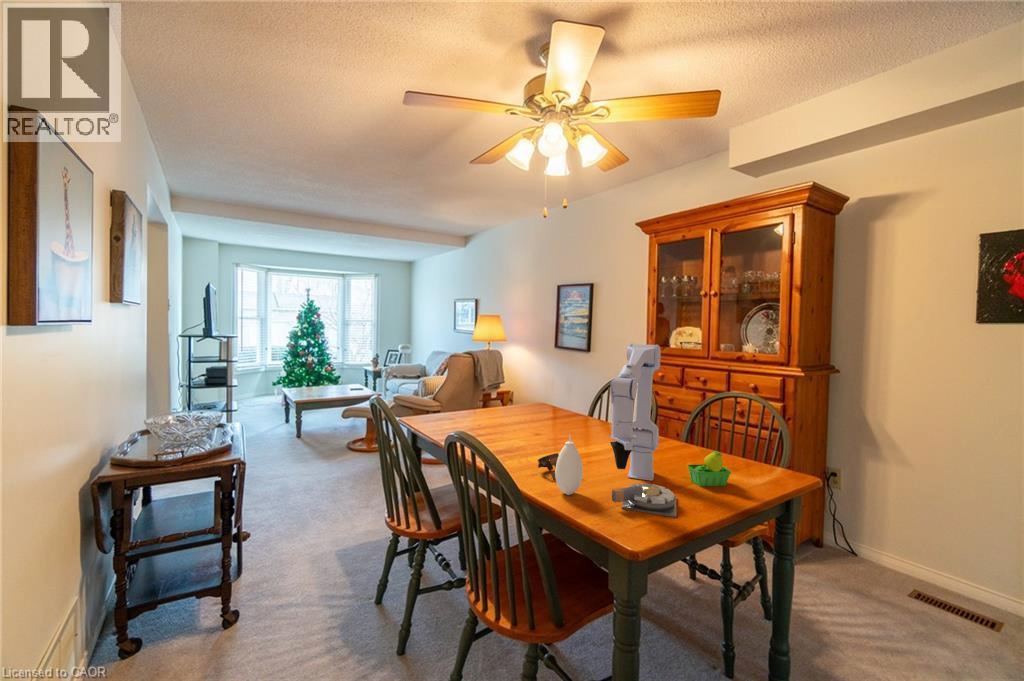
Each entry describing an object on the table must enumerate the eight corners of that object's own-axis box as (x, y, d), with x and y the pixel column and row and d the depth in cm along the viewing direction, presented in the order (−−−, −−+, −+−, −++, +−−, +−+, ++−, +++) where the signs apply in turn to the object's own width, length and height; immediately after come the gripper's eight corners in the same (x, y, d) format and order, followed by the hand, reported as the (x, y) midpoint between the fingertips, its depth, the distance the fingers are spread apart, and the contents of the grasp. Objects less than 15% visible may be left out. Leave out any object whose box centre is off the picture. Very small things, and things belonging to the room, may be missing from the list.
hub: (626, 491, 137) (627, 476, 137) (676, 498, 132) (676, 482, 132) (621, 508, 124) (622, 492, 124) (676, 517, 119) (676, 500, 119)
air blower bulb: (574, 501, 128) (575, 438, 128) (550, 494, 133) (551, 433, 132) (586, 492, 135) (588, 433, 134) (563, 486, 139) (564, 428, 139)
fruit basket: (717, 478, 150) (718, 445, 150) (734, 488, 141) (736, 452, 141) (685, 479, 148) (686, 445, 148) (700, 489, 140) (702, 453, 139)
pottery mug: (545, 483, 144) (537, 457, 147) (541, 486, 152) (533, 462, 155) (580, 472, 146) (571, 447, 149) (574, 475, 155) (566, 452, 158)
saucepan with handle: (610, 500, 123) (610, 490, 123) (639, 484, 136) (640, 474, 136) (652, 514, 115) (652, 502, 115) (679, 495, 128) (679, 484, 128)
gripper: (644, 426, 120) (643, 477, 120) (629, 415, 134) (627, 460, 135) (618, 426, 120) (616, 477, 120) (605, 414, 134) (604, 460, 135)
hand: (620, 468), depth 128 cm, fingers closed
